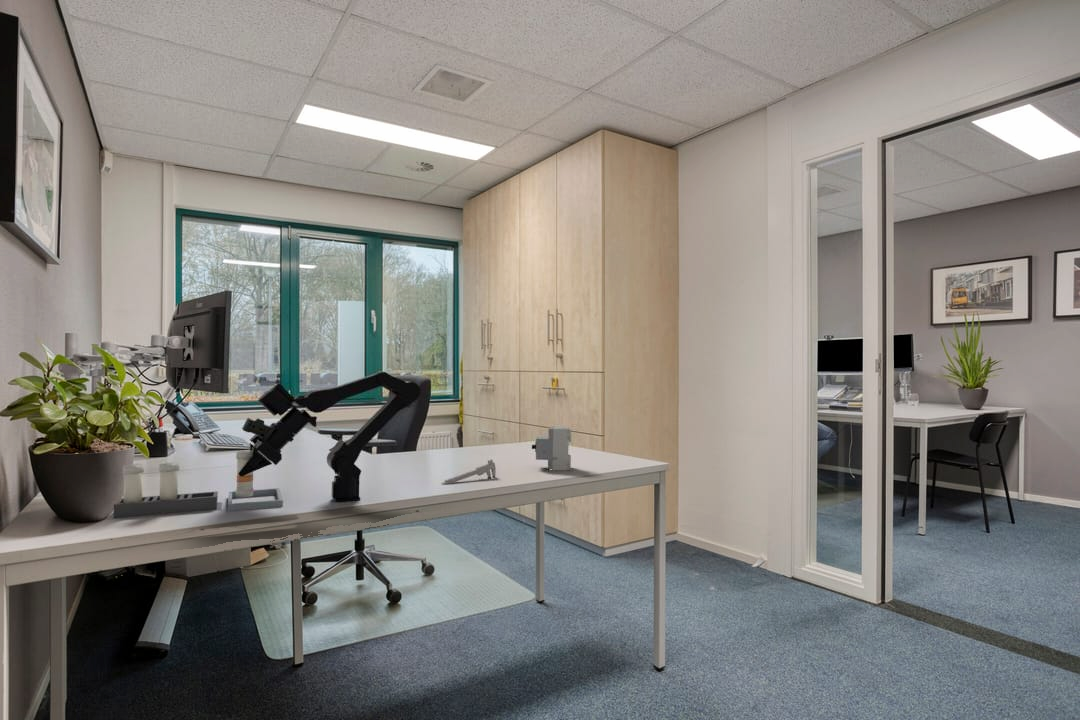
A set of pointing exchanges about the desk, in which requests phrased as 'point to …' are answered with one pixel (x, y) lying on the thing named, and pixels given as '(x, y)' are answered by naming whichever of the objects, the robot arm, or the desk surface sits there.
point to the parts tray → (259, 503)
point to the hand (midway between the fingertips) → (238, 474)
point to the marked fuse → (247, 480)
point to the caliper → (475, 472)
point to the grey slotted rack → (167, 505)
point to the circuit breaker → (554, 448)
